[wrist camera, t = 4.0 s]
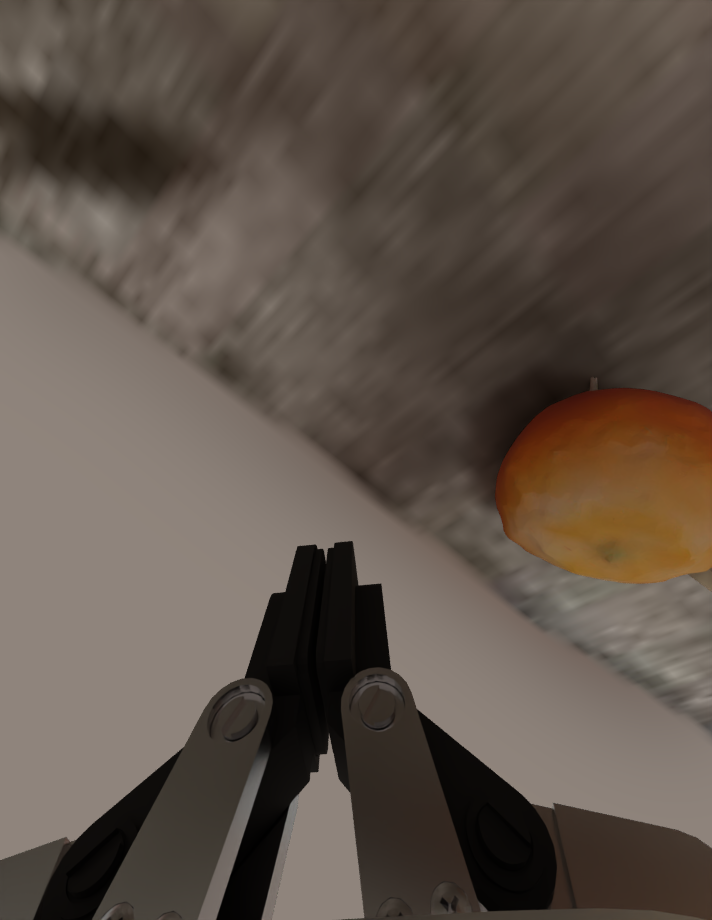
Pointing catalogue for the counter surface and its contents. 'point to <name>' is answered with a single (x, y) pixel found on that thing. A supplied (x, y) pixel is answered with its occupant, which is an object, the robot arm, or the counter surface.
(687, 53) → the counter surface
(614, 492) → the fruit
